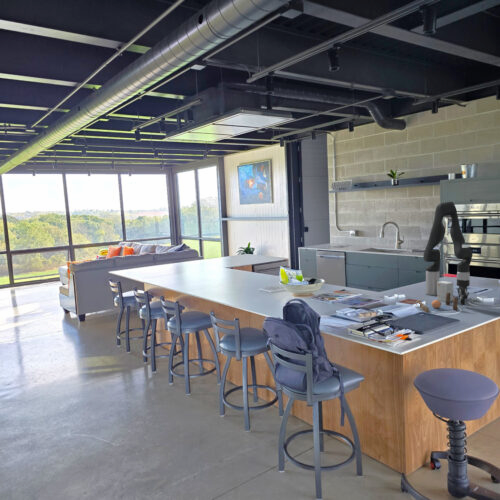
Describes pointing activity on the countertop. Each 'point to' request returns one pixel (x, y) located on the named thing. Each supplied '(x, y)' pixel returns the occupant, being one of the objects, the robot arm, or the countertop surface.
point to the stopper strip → (423, 306)
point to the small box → (444, 290)
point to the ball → (436, 304)
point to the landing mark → (438, 308)
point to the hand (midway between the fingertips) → (462, 304)
